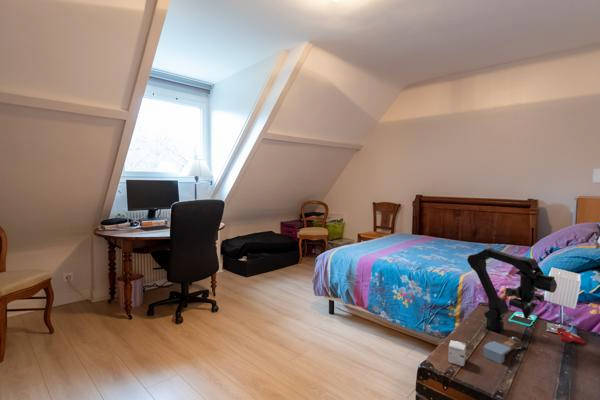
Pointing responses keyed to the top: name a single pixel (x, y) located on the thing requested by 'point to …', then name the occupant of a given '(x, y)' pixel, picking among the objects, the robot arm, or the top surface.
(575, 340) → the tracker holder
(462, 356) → the skincare box
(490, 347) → the block
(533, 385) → the top surface
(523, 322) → the handheld game console
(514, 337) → the pintle
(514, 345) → the link
